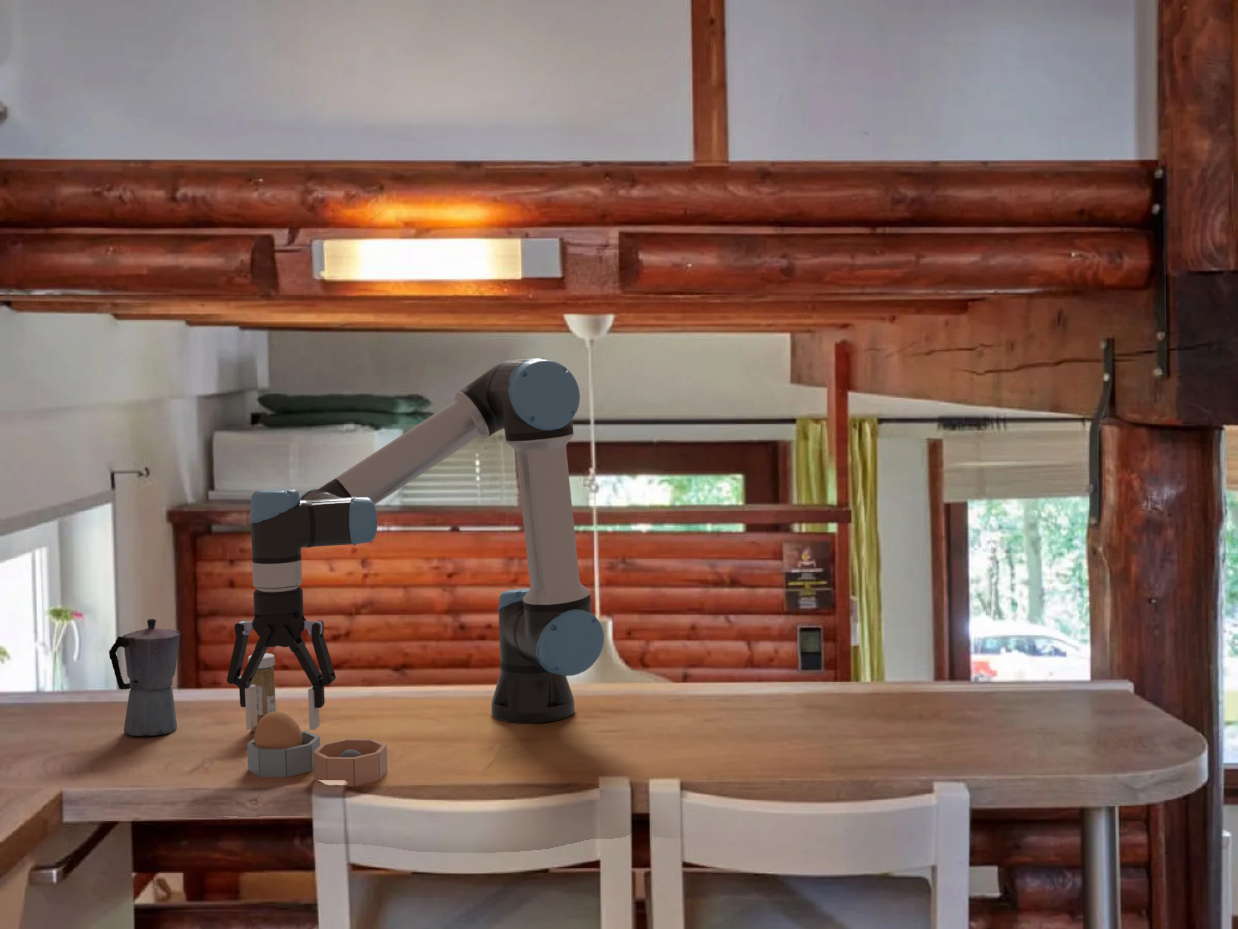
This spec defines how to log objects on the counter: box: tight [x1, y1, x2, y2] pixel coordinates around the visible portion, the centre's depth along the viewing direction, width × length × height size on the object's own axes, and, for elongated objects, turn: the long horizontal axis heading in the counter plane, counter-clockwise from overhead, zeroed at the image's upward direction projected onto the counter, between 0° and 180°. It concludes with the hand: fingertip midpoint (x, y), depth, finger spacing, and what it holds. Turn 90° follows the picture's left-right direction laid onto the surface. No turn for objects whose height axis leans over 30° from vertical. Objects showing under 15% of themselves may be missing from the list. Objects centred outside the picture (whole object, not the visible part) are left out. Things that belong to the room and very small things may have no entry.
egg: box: [253, 710, 302, 749], centre depth 211 cm, size 7×7×8 cm
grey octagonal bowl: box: [246, 730, 321, 778], centre depth 211 cm, size 10×10×5 cm
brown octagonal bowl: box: [313, 738, 388, 787], centre depth 206 cm, size 10×10×5 cm
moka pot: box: [108, 618, 182, 737], centre depth 234 cm, size 10×15×20 cm, turn 155°
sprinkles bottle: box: [247, 652, 277, 733], centre depth 235 cm, size 5×5×13 cm
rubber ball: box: [339, 749, 362, 757], centre depth 206 cm, size 4×4×4 cm
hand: (283, 727), depth 211 cm, fingers open, 9 cm apart
